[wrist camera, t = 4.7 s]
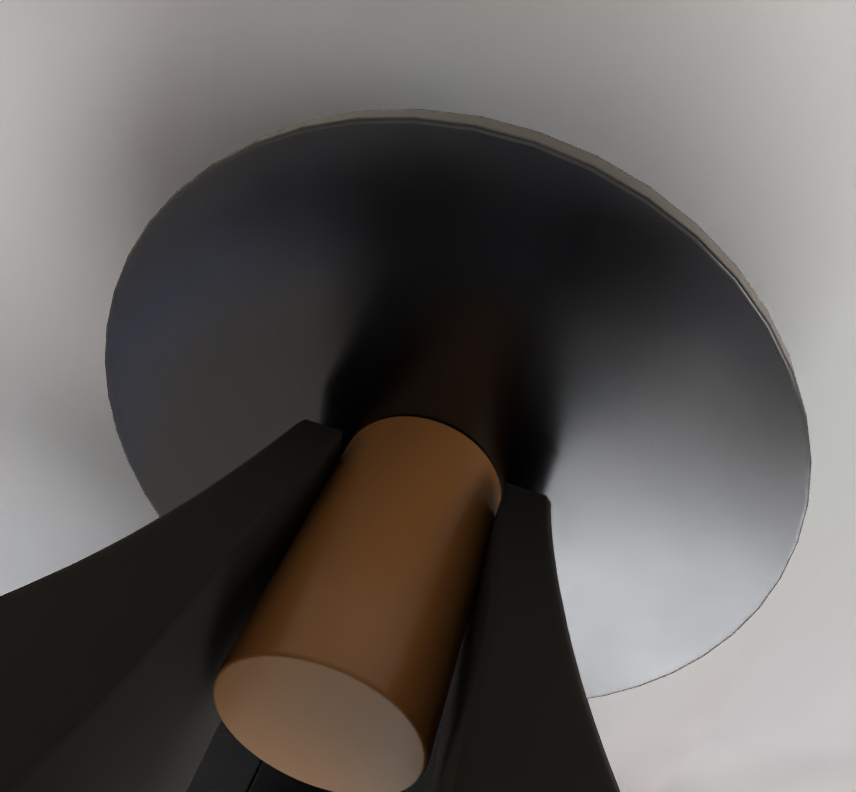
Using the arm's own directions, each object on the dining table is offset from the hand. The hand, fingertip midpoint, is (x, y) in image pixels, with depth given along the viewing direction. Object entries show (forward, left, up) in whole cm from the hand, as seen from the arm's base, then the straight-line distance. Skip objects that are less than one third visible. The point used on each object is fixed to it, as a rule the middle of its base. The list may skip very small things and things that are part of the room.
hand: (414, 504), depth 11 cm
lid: (0, 0, -1) cm, 1 cm away
